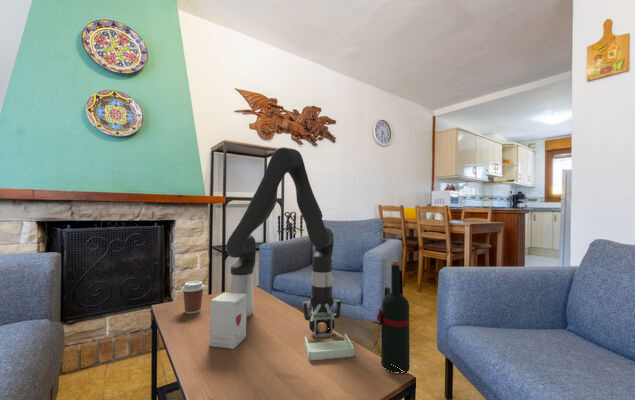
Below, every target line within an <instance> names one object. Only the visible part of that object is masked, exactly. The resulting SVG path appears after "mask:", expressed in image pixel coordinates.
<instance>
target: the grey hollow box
mask: <svg viewBox="0 0 635 400" xmlns="http://www.w3.org/2000/svg"><path fill="white" fill-rule="evenodd" d="M313 321H314V332H312V334H313V337H314V339H319V338H321V337H322V338H329V337H328V336H332V337H333V330H332V315H329V314H328V312H321V313H317V315H316V316H314V320H313ZM319 322H324V323H326V325H327V329H328V328H329V329H328V330H327V332H325V333H317V330H316V326H317V324H318V323H319Z"/></svg>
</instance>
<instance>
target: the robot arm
mask: <svg viewBox="0 0 635 400" xmlns="http://www.w3.org/2000/svg"><path fill="white" fill-rule="evenodd" d="M265 169H266V170H265V173H264V175H263V177H262V179H261V180H260V182H259V185H258V186H257V189H256V191H255V193H254V194H253V196H252V198H251V200H250V202H249V203H248V206H247V209H246V210H245V212H244V213H243V216H242V218H241V220H240V221H239V223H238V224H237V226H236V228H235V229H234V230H233V232H231V234H230V236H229V238H228V239H227V242H226V247H225V249H226V254H227V255H228V256H229V257H230V258H233V259H234V258H238V260H237V261H236V262H235V263H234V264H233V265H231V267H230V292H229V293H238V294H247V301H246V318H247V317H249V316H251V315H253V313H254V309H253V308H254V268H255V266H256V265H255V264H256V255H257V254H256V253H257V252H256V251H257V244H256V243H257V242H256V239H255V237H254V236H253V235H252V233H253V232H254V231H255V230H257V228H260V227H261V225H262V224H263V223H264V222H265V223H266V221H267V220H268V219H269V217H270V216H271V215H272V212H273V210H274V208H275V207H276V205H277V201H278V189H279V186H280V184H281V181H282V180H283V179H284V176H285V175H286V174H287V173H288V174H289V176H290V177H291V179H292V181H293V183H294V187H295V194H296V195H295V196H296V204H297V207H298V210H299V212H300V213H301V216H302V218H303V221H304V223H305V228H306V232H307V235H308V238H309V241H310V243H311V244H312V245H313V247H315V249H314V250H315V251H314V254H313V256H312V262H311V263H312V265H311V266H312V267H311V270H312V271H311V296H310V297H311V298H310V300H309V301H307V300H303V301H302V311H303V317H304V319H305V321H309V322H308V323H309V325H308V327H309V331H311V332H312V333H313V332H314V321H313V320H314V316H316V315H317V313H321V312H328V314H329V315H332V331H333V329H335V320H336V319H339V318H340V314H341V307H342V302H341V300H340V299H339V298H337V299H333V271H332V269H333V266H332V265H333V263H332V261H333V260H332V259H333V258H332V256H333V250H334V244H335V243H334V242H335V241H334V240H335V238H334V233H333V231H332V230H331V229H330V228H329V227H327V226H326V225H325V223H324V220H323V213H322V212H323V211H322V210H321V207H320V206H319V203H318V201H317V199H316V197H315V195H314V192H313V190H312V187H311V184H310V180H309V176H308V173H307V170H306V166H305V161H304V159H303V156H302V154H301V153H300V151H299V150H297V149H295V148H290V147H286V146H283V147H282V146H281V147H278V148H276V150H274V151H273V153H272V155H271V157H270V159H269V162H268V165H267V168H265ZM333 305H334V309H335V310H334V313H333V312H332V309H331V307H332V306H333ZM310 306H311V307H312V309H311V312H310V314H309V311H308V309H309V307H310Z"/></svg>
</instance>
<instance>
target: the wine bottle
mask: <svg viewBox="0 0 635 400" xmlns="http://www.w3.org/2000/svg"><path fill="white" fill-rule="evenodd" d="M390 266H391V269H390V270H391V272H390V273H391V276H390V277H391V280H390V281H391V283H390V284H391V285H390V286H391V287H390V288H391V290H390V291H391V292H389V293H387V294H386V295H385V296H384V297H383V299H382V301H381V308H378V313H377V314H376V319H377V322H378V328H377V337H376V341H375V342H374V344H373V348H375V347H376V346H377V344H378V341H379V340H378V339H379V333H380V332H379V331H380V326H381V340H380V341H381V346H380V347H381V350H380V351H381V352H380V353H381V354H380V355H381V357H380V362H381V363H380V365H381V364H382V365H381V366H383V367H384V368H386V369H387V370H389V371H392V372H399V373H401V372H403V371H405V372H406V373H408V372H409V370H410V367H411V365H410V362H411V361H410V359H411V357H410V355H411V354H410V349H411V348H410V303H409V301H408V299H407V298H406V297H405V296H404V295H403V294H402V293H400V264H399V260H398V259H396V260H395V259H394V260H393V259H392V264H391V265H390ZM381 358H382V359H381ZM391 364H392V365H391ZM393 365H394V366H393ZM395 366H396V367H395ZM383 367H382V368H383ZM397 367H398V368H397ZM384 368H383V369H384ZM399 368H400V369H401V370H403V371H401V370H400V369H399ZM387 370H386V371H387Z"/></svg>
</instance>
